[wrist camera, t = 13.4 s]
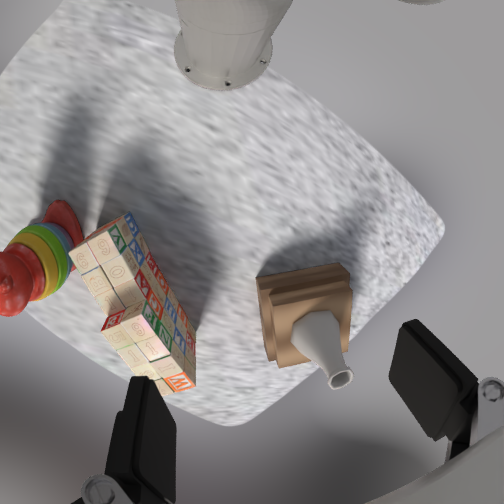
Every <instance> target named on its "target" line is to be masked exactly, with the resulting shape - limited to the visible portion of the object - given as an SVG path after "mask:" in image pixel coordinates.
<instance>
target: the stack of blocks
mask: <svg viewBox="0 0 504 504" xmlns="http://www.w3.org/2000/svg"><path fill="white" fill-rule="evenodd" d="M69 256H70V257H71V259H72V261H73V263H74V264H75V266H76V268H77V270H78V271H79V273H80V274H81V277H82V279H83V280H84V282H85V284H86V285H87V287H88V288H89V290H90V292H91V293H92V295H93V296H94V298H95V300H96V301H97V303H98V304H99V306H100V307H101V309H102V310H103V311H104V313H105V314H106V315H107V316H108V317H107V319H106V321H105V323H104V325H103V327H102V329H101V332H102V334H103V335H104V337H105V338H106V339H107V340H108V342H109V343H110V344H111V346H112V347H113V348H114V349H115V350H116V351H117V353H118V354H119V355H120V357H121V358H122V359H123V360H124V361H125V363H126V364H127V365H128V366H129V367H130V369H131V370H132V371H133V373H134V374H135V375H136V376H148V377H149V379H153V380H154V381H155V383H156V385H157V388H158V390H159V392H160V394H161V396H165V395H169V394H173V393H174V392H180V391H183V390H186V389H190V388H193V387H195V386H196V357H195V343H196V332H195V330H194V328H193V327H192V325H191V323H190V322H189V320H188V318H187V316H186V314H185V312H184V311H183V309H182V307H181V306H180V304H179V302H178V300H177V298H176V297H175V295H174V293H173V291H172V290H171V288H170V287H169V286H168V284H167V282H166V281H165V279H164V277H163V275H162V273H161V272H160V270H159V269H158V267H157V265H156V263H155V261H154V259H153V258H152V256H151V254H150V252H149V248H148V246H147V245H146V243H145V241H144V239H143V237H142V235H141V233H140V231H139V229H138V227H137V225H136V223H135V221H134V219H133V217H132V215H131V213H130V212H128V213H126V214H124V215H122V216H120V217H119V218H117V219H115V220H113V221H111V222H109V223H107V224H105V225H103V226H102V227H100V228H98V229H97V230H95V231H94V232H93V233H92V234H90V235H89V236H88V237H86V238H85V239H84V240H83V241H82V242H81V243H80V244H78V245H77V246H76V247H75V248H73V249H72V250H71V251H70V252H69Z"/></svg>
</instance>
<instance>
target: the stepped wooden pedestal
mask: <svg viewBox="0 0 504 504" xmlns="http://www.w3.org/2000/svg"><path fill="white" fill-rule="evenodd" d="M349 283H350V273H349V272H348V271H347V270H346V269H345V268H344V267H343V266H342V265H341V264H340V263H334V264H328V265H323V266H318V267H312V268H307V269H301V270H296V271H290V272H285V273H279V274H274V275H268V276H262V277H256V284H257V292H258V300H259V308H260V316H261V324H262V332H263V340H264V347H265V350H266V354H267V357H268V360H269V361H274V360H276V361H277V364H278V367H279V368H283V367H288V366H292V365H297V364H301V363H305V362H309V361H311V360H310V359H308V358H307V357H306V356H304V355H303V354H301V353H300V352H299V351H298V349H297V348H296V347H295V346H294V345H293V344H292V343H291V342H290V341H291V332H292V324H294V323H295V322H297V321H298V320H300V319H301V318H303V317H304V316H306V315H307V314H308V313H310V312H317V311H327V310H331V312H332V313H333V315H334V316H335V318H336V319H337V321H338V322H339V328H340V340H341V348H342V353H343V352H347V351H348V344H349V334H350V322H351V308H352V291H353V290H352V289H351V288H350V287H349Z"/></svg>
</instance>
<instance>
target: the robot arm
mask: <svg viewBox="0 0 504 504" xmlns="http://www.w3.org/2000/svg"><path fill="white" fill-rule="evenodd" d="M292 1H293V0H175V3H176V7H177V11H178V16H179V21H180V25H181V30H180V32H179V34H178V36H177V37H176V41H175V45H174V55H175V60H176V63H177V66H178V67H179V69H180V71H181V72H182V74H183V75H184V76H185V77H186V78H187V79H188V80H190V81H191V82H193V83H194V84H196V85H198V86H200V87H203V88H206V89H210V90H218V91H225V90H233V89H238V88H241V87H243V86H246V85H248V84H250V83H251V82H253V81H255V80H256V79H257V78H258V77H259V76H260V75H261V74H262V73H263V72H264V71H265V69H266V68H267V66H268V65H269V63H270V59H271V56H272V41H271V36H272V34H273V33H274V31H275V29H276V28H277V26H278V25H279V23H280V22H281V20H282V18H283V16H284V15H285V13H286V12H287V10H288V9H289V7H290V5H291V4H292ZM399 1H402V2H406V3H411V4H417V5H430V4H435V3H439V2H442V1H444V0H399ZM260 62H264V64H261V63H260ZM188 69H189V70H190V72H186V70H188ZM226 83H229V84H230V85H229V86H226ZM389 380H390V382H391V384H392V385H393V387H394V388H395V389H396V391H397V392H398V394H399V395H400V397H401V398H402V399H403V401H404V402H405V404H406V405H407V407H408V408H409V409H410V411H411V412H412V414H413V415H414V417H415V418H416V420H417V421H418V423H419V424H420V425H421V427H422V428H423V430H424V431H425V433H426V434H427V436H428V437H430V438H431V437H432V438H433V440H434V441H437V440H439V439H441V438H442V437H444V436H445V435H446V436H447V438H448V446H447V451H446V457H445V462H444V464H443V465H441V466H440V467H438V468H436V469H435V470H433V471H431V472H430V473H428V474H426V475H424V476H423V477H421V478H419V479H417V480H415V481H413V482H411V483H410V484H407V485H406V486H404V487H401V488H400V489H398V490H395V491H393V492H391V493H389V494H387V495H384V496H382V497H380V498H377V499H375V500H373V501H370V502H368V503H365V504H504V382H503V381H501V380H499V379H498V378H494V377H488V378H486V379H483V380H482V381H481V382H480V384H479V383H478V382H477V381H478V378H477V377H476V376H475V375H474V374H473V373H472V372H471V371H470V370H469V369H468V368H467V367H466V366H465V365H464V364H463V363H462V362H461V361H460V360H459V359H458V358H457V357H456V356H455V355H454V354H453V353H452V352H451V351H450V350H449V349H448V348H447V347H446V346H445V345H444V344H443V343H442V342H441V341H440V340H439V339H438V338H437V337H436V336H435V335H434V334H433V333H432V332H431V331H429V329H427V328H426V327H425V326H424V325H423V324H422V323H421V322H420V321H419V320H417V319H414V320H411V321H408V322H405V323H403V324H402V327H401V328H400V329H399V333H398V338H397V343H396V347H395V351H394V355H393V360H392V364H391V368H390V371H389ZM175 478H176V423H175V421H174V419H173V417H172V415H171V413H170V411H169V409H168V408H167V406H166V404H165V402H164V400H163V398H162V396H161V394H160V392H159V390H158V388H157V385H156V383H155V381H154V380H153V379H149V377H148V376H132V377H131V379H130V383H129V387H128V391H127V395H126V399H125V404H124V408H123V411H119V412H118V413H117V415H116V419H115V423H114V428H113V433H112V437H111V442H110V447H109V452H108V457H107V462H106V468H105V474H104V475H103V474H97V475H93V476H90V477H89V478H88V479H87V480H85V482H84V483H83V485H82V488H81V496H82V497H81V498H79V499H78V500H76V501H75V502H73V503H71V504H174V503H175V501H176V489H175V488H176V486H175V485H176V482H175V481H176V479H175Z"/></svg>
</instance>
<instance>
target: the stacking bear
mask: <svg viewBox="0 0 504 504" xmlns="http://www.w3.org/2000/svg"><path fill="white" fill-rule="evenodd" d="M82 241H83V236H82V232H81V228H80V225H79V223H78V220H77V218H76V216H75V214H74V212H73V211H72V209H71V208H70V206H69V205H68V204H67V203H66V202H65V201H60V200H55V201H54V202H53V203H52V204H50V205H49V207H48V209H47V212H46V215H45V218H44V219H43V221H42V222H41V223H36V224H33V225H30V226H27V227H25V228H24V229H22V230H21V231H20V232H19V233H18V234H17V235H16V236H15V237H14V238H13V239H12V240H11V241H10V243H9V244H8V245H7V247H6V248H5V249H4V251H3V252H0V315H2V316H8V317H10V316H15V315H18V314H19V313H20V312H22V310H23V309H24V308H25V307H26V305H27V303H28V302H29V301H38V300H41V299H43V298H45V297H47V296H49V295H51V294H52V293H54V292H55V291H57V290H58V289H59V288H60V287H61V286H62V285H63V284H64V283H65V281H66V279H67V278H68V276H69V274H70V272H71V271H73V270H75V269H76V266H75V264H74V263H73V261H72V259H71V257H70V256H69V252H70V251H71V250H72V249H73V248H75V247H76V246H77V245H78V244H80V243H81V242H82Z"/></svg>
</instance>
